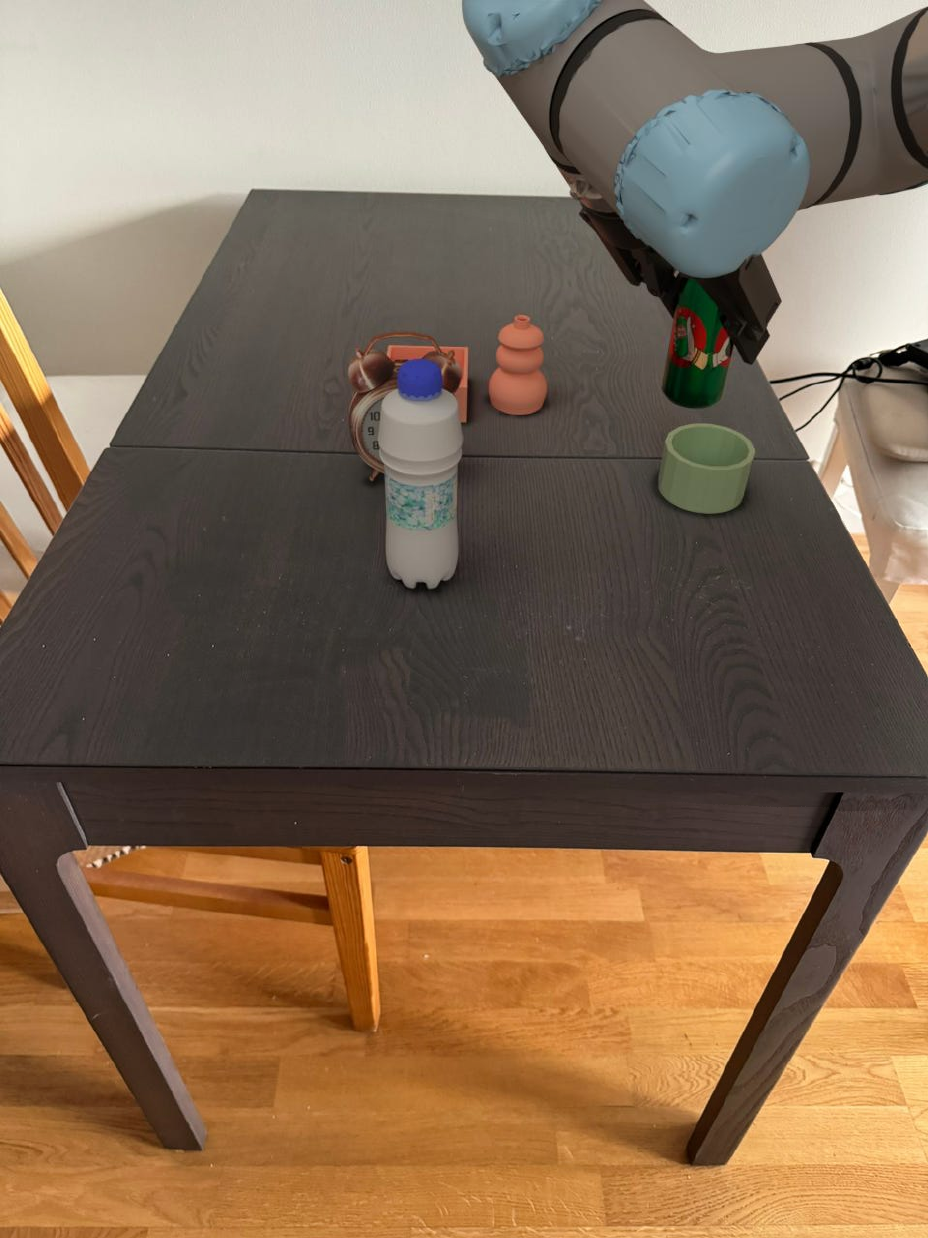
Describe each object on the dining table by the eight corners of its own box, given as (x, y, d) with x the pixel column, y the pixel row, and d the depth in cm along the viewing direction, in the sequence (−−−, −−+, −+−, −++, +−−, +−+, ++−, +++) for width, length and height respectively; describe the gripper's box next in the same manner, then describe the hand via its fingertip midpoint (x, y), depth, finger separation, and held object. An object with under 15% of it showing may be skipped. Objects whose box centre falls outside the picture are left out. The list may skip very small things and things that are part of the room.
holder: (749, 477, 94) (761, 433, 91) (735, 522, 88) (747, 477, 85) (668, 459, 96) (676, 416, 93) (649, 501, 91) (656, 457, 87)
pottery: (383, 420, 101) (379, 335, 95) (389, 379, 108) (386, 296, 102) (548, 424, 101) (555, 339, 95) (543, 382, 108) (550, 300, 102)
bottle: (472, 587, 80) (478, 375, 67) (398, 605, 78) (390, 390, 65) (444, 543, 85) (445, 336, 72) (374, 558, 83) (362, 349, 70)
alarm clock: (352, 487, 91) (341, 344, 81) (353, 460, 95) (342, 320, 85) (462, 484, 92) (464, 342, 82) (458, 458, 96) (461, 319, 86)
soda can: (715, 383, 79) (746, 239, 71) (727, 412, 75) (761, 264, 67) (656, 381, 79) (680, 238, 71) (665, 411, 75) (692, 263, 67)
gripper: (492, 181, 62) (616, 341, 81) (721, 258, 52) (799, 418, 72) (552, 79, 61) (662, 265, 81) (795, 138, 52) (853, 332, 71)
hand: (726, 337), depth 76 cm, fingers closed on soda can, 5 cm apart
